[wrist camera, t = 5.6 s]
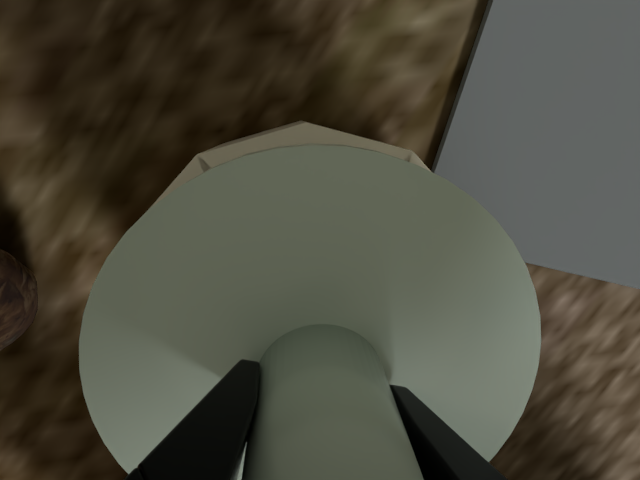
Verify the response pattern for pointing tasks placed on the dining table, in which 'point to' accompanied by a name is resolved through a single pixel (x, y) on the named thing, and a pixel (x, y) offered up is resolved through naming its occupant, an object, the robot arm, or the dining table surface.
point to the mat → (554, 132)
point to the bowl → (281, 137)
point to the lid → (313, 313)
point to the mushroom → (15, 298)
